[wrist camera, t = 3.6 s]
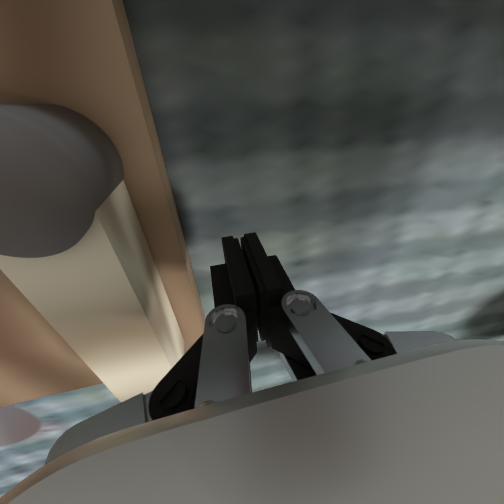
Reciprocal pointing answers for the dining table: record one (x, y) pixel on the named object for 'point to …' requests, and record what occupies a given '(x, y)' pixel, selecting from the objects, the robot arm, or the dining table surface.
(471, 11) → the dining table surface
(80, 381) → the stool seat board
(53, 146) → the folding leg
